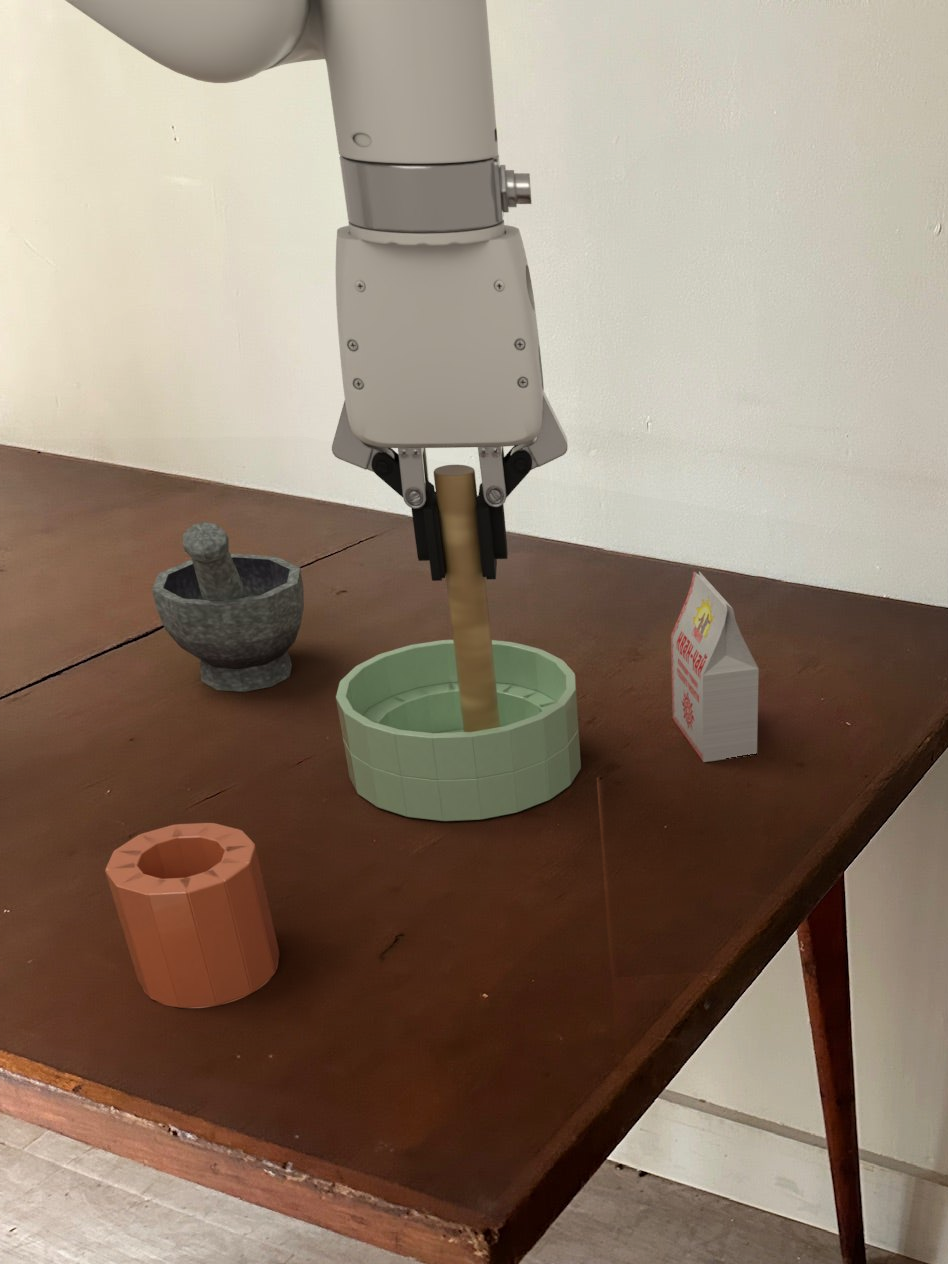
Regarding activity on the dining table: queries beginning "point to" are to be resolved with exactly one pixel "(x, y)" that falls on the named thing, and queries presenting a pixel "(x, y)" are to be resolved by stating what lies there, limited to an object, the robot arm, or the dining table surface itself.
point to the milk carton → (713, 677)
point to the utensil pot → (194, 914)
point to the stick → (467, 596)
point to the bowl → (458, 733)
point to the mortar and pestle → (231, 611)
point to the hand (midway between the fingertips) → (464, 569)
